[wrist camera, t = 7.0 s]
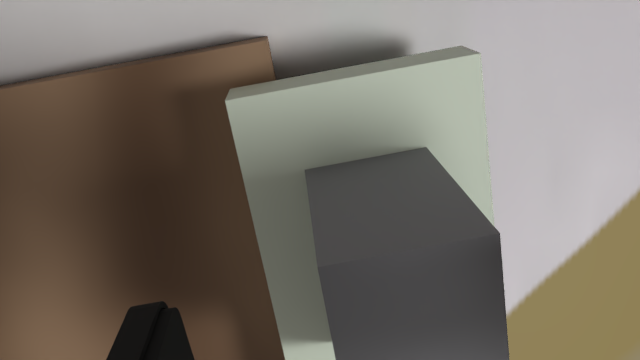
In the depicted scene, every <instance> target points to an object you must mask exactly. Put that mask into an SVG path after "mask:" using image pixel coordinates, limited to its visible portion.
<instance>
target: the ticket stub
mask: <svg viewBox="0 0 640 360" xmlns="http://www.w3.org/2000/svg"><path fill="white" fill-rule="evenodd" d="M225 104H226V108H227V112H228V116H229V121H230V125H231V129H232V134H233V138H234V142H235V146H236V151H237V155H238V159H239V164H240V168H241V172H242V176H243V181H244V185H245V189H246V194H247V198H248V202H249V207H250V211H251V215H252V219H253V224H254V228H255V232H256V237H257V241H258V245H259V249H260V254H261V258H262V262H263V267H264V271H265V275H266V279H267V284H268V288H269V292H270V297H271V301H272V305H273V310H274V314H275V318H276V322H277V327H278V331H279V335H280V340H281V344H282V348H283V352H284V357H285V360H509V350H508V336H507V324H506V310H505V296H504V283H503V270H502V256H501V243H500V233H499V232H498V230H497V229H496V228H495V227H494V216H493V203H492V191H491V178H490V165H489V153H488V140H487V127H486V114H485V102H484V89H483V76H482V64H481V53H479V52H476V51H474V50H471V49H469V48H466V47H464V46H457V47H452V48H447V49H441V50H436V51H430V52H425V53H420V54H414V55H409V56H404V57H398V58H393V59H387V60H382V61H377V62H371V63H366V64H361V65H355V66H350V67H344V68H339V69H334V70H328V71H323V72H318V73H312V74H307V75H301V76H296V77H291V78H285V79H280V80H275V81H269V82H264V83H258V84H253V85H248V86H242V87H237V88H232V89H230V90H229V92H228V95H227V97H226V99H225Z"/></svg>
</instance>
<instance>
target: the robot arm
mask: <svg viewBox="0 0 640 360" xmlns="http://www.w3.org/2000/svg"><path fill="white" fill-rule="evenodd" d="M106 360H195V359H194V356H193V353H192V350H191V347H190V343H189V340H188V337H187V334H186V331H185V327H184V324H183V321H182V318H181V315H180V312H179V310H178V308H176V307H173V308H168V306H167V304H166V303H165V302H164V301H159V302H154V303H148V304H142V305H137V306H132V307H130V308H129V309H128V311H127V313H126V316H125V318H124V320H123V323H122V325H121V327H120V329H119V332H118V334H117V336H116V338H115V341H114V343H113V345H112V348H111V350H110V352H109V354H108V357H107V359H106Z"/></svg>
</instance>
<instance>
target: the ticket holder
mask: <svg viewBox="0 0 640 360" xmlns="http://www.w3.org/2000/svg"><path fill="white" fill-rule="evenodd" d="M275 80H276V77H275V72H274V67H273V62H272V57H271V52H270V47H269V42H268V37H267V36H266V37H260V38H255V39H249V40H244V41H239V42H233V43H228V44H222V45H217V46H212V47H206V48H201V49H195V50H190V51H185V52H179V53H174V54H169V55H163V56H158V57H152V58H147V59H142V60H136V61H131V62H125V63H120V64H115V65H109V66H104V67H98V68H93V69H88V70H82V71H77V72H72V73H66V74H61V75H55V76H50V77H45V78H39V79H34V80H28V81H23V82H18V83H12V84H7V85H2V86H0V360H106V359H107V357H108V354H109V352H110V350H111V348H112V345H113V343H114V341H115V338H116V336H117V334H118V332H119V329H120V327H121V325H122V323H123V320H124V318H125V316H126V313H127V311H128V309H129V308H130V307H132V306H137V305H142V304H148V303H154V302H159V301H164V302H165V303H166V304H167V306H168V308H173V307H176V308H178V310H179V312H180V315H181V318H182V321H183V324H184V327H185V331H186V334H187V337H188V340H189V343H190V347H191V350H192V353H193V356H194V359H195V360H285V357H284V352H283V348H282V344H281V340H280V335H279V331H278V327H277V322H276V318H275V314H274V310H273V305H272V301H271V297H270V292H269V288H268V284H267V279H266V275H265V271H264V267H263V262H262V258H261V254H260V249H259V245H258V241H257V237H256V232H255V228H254V224H253V219H252V215H251V211H250V207H249V202H248V198H247V194H246V189H245V185H244V181H243V176H242V172H241V168H240V164H239V159H238V155H237V151H236V146H235V142H234V138H233V134H232V129H231V125H230V121H229V116H228V112H227V108H226V104H225V99H226V97H227V95H228V92H229V90H230V89H232V88H237V87H242V86H248V85H253V84H258V83H264V82H269V81H275Z"/></svg>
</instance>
